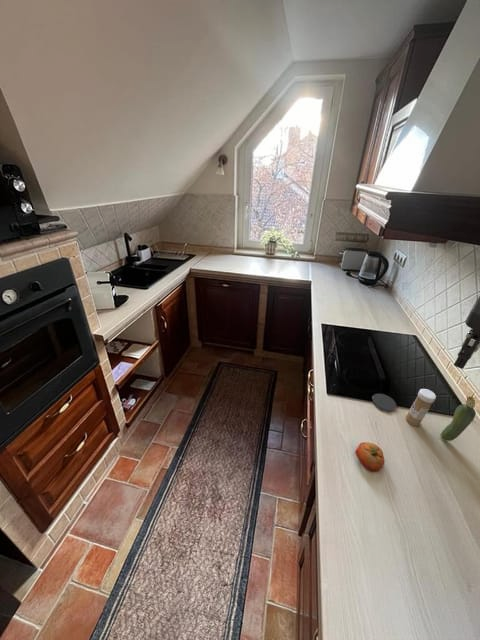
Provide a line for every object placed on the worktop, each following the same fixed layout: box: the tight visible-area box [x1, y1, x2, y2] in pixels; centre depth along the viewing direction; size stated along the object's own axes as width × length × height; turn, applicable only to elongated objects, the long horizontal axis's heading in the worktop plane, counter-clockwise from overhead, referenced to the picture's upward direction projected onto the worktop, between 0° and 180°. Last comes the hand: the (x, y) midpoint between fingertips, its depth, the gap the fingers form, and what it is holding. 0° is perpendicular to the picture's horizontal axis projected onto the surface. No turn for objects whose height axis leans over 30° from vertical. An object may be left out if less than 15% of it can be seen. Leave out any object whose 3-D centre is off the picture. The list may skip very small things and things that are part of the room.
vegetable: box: [439, 395, 477, 442], centre depth 76 cm, size 4×4×20 cm
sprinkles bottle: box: [405, 388, 437, 427], centre depth 85 cm, size 5×5×13 cm
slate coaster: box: [371, 393, 397, 413], centre depth 94 cm, size 8×8×1 cm
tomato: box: [354, 442, 386, 473], centre depth 75 cm, size 8×7×7 cm
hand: (462, 360), depth 74 cm, fingers open, 8 cm apart
